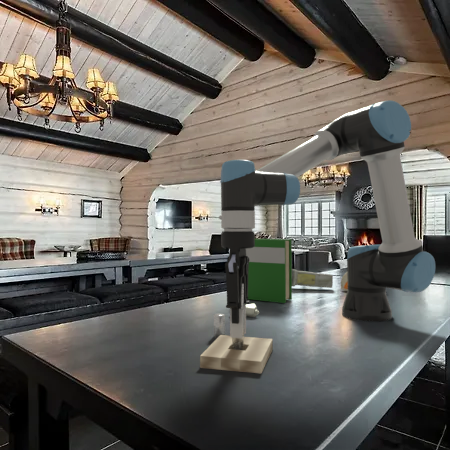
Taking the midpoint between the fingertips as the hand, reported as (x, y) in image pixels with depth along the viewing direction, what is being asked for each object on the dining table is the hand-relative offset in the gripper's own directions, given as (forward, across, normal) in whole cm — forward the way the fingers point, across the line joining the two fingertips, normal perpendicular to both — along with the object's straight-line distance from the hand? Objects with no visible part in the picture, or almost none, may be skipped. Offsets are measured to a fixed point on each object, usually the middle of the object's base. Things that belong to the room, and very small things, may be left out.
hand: (238, 334), depth 84 cm
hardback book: (+6, -68, -4) cm, 68 cm away
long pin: (+5, 0, 0) cm, 5 cm away
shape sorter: (+6, -98, +35) cm, 105 cm away
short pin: (+6, -15, -9) cm, 18 cm away
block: (+6, -93, +11) cm, 94 cm away
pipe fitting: (+4, -36, -5) cm, 36 cm away
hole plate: (+6, 0, 0) cm, 6 cm away
